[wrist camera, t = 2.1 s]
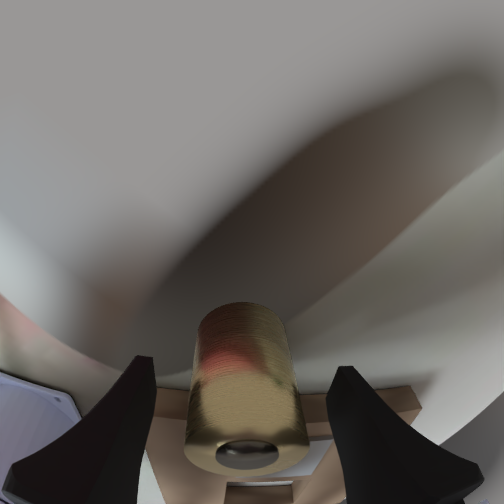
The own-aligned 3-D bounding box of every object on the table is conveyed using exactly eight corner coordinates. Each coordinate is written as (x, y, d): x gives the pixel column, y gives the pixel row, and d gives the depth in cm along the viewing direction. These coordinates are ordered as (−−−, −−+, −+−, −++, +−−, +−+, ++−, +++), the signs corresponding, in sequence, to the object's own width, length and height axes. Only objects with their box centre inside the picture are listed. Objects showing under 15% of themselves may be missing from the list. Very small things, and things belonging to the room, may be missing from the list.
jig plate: (168, 488, 21) (166, 508, 19) (142, 385, 15) (133, 418, 13) (335, 486, 23) (340, 505, 21) (410, 385, 16) (424, 411, 14)
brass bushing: (197, 365, 14) (186, 477, 9) (197, 298, 13) (179, 421, 7) (277, 370, 15) (295, 478, 9) (292, 304, 13) (326, 423, 7)
